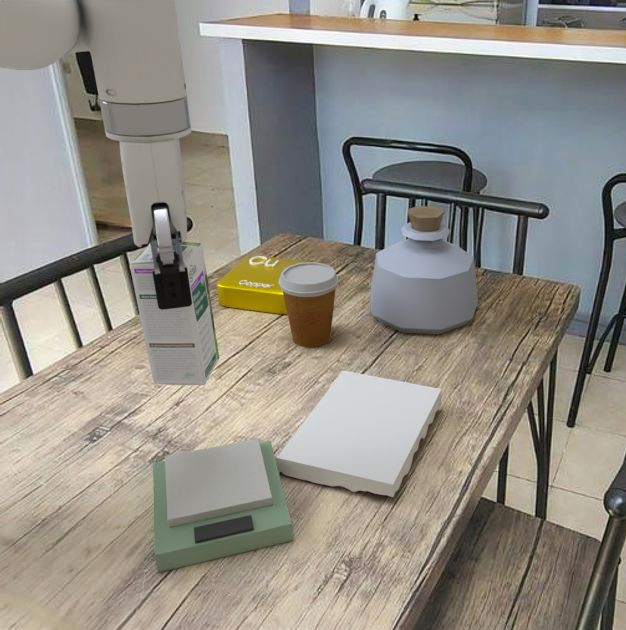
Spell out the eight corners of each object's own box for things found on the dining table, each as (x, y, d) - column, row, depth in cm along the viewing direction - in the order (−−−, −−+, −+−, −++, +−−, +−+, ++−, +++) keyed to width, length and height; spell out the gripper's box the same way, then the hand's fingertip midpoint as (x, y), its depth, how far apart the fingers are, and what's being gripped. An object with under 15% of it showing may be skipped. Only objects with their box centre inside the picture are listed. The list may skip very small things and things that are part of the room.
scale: (158, 572, 70) (152, 547, 69) (156, 479, 83) (151, 455, 81) (293, 540, 75) (291, 516, 73) (272, 456, 87) (270, 433, 85)
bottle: (350, 298, 128) (348, 201, 119) (442, 280, 136) (446, 188, 127) (396, 347, 112) (397, 240, 103) (496, 324, 120) (505, 222, 111)
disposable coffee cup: (317, 319, 120) (314, 256, 115) (351, 339, 114) (350, 274, 109) (271, 337, 114) (265, 271, 109) (305, 359, 108) (301, 291, 103)
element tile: (214, 306, 124) (211, 282, 121) (250, 273, 137) (248, 251, 134) (292, 316, 121) (291, 292, 119) (321, 282, 134) (320, 259, 132)
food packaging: (393, 506, 80) (441, 408, 97) (393, 484, 79) (441, 389, 95) (279, 478, 84) (343, 389, 101) (276, 457, 83) (342, 370, 99)
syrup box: (206, 386, 73) (188, 262, 67) (151, 385, 73) (128, 261, 67) (220, 359, 78) (205, 241, 72) (168, 357, 78) (148, 239, 72)
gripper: (106, 101, 69) (135, 263, 77) (98, 141, 55) (135, 334, 63) (184, 98, 71) (204, 255, 80) (196, 136, 57) (219, 323, 65)
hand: (173, 289), depth 71 cm, fingers closed on syrup box, 7 cm apart
